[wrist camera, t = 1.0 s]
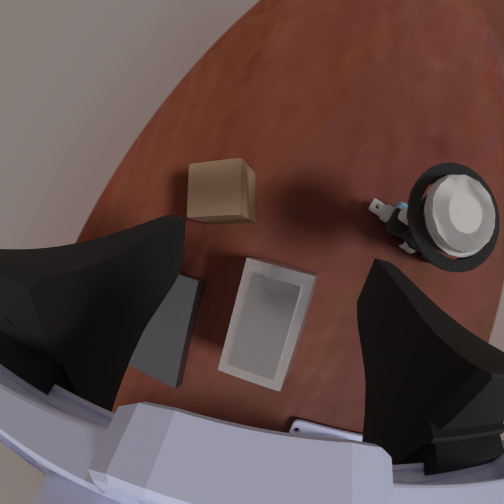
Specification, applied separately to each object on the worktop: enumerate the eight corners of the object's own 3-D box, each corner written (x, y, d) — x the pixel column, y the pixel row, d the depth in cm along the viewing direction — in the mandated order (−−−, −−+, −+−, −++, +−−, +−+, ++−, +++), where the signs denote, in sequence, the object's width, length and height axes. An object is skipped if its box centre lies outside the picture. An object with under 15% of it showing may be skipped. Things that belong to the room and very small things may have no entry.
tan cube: (255, 222, 24) (240, 214, 20) (209, 224, 25) (186, 217, 21) (255, 174, 24) (241, 157, 20) (210, 178, 25) (189, 164, 21)
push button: (352, 234, 22) (367, 213, 12) (385, 177, 21) (416, 120, 11) (422, 281, 20) (481, 295, 10) (453, 223, 19) (520, 198, 10)
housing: (290, 369, 23) (279, 393, 18) (238, 352, 24) (216, 371, 19) (319, 273, 22) (315, 276, 18) (263, 258, 24) (245, 257, 19)
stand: (181, 383, 25) (175, 388, 24) (108, 346, 27) (101, 348, 26) (204, 280, 25) (198, 281, 23) (124, 252, 27) (116, 252, 26)
